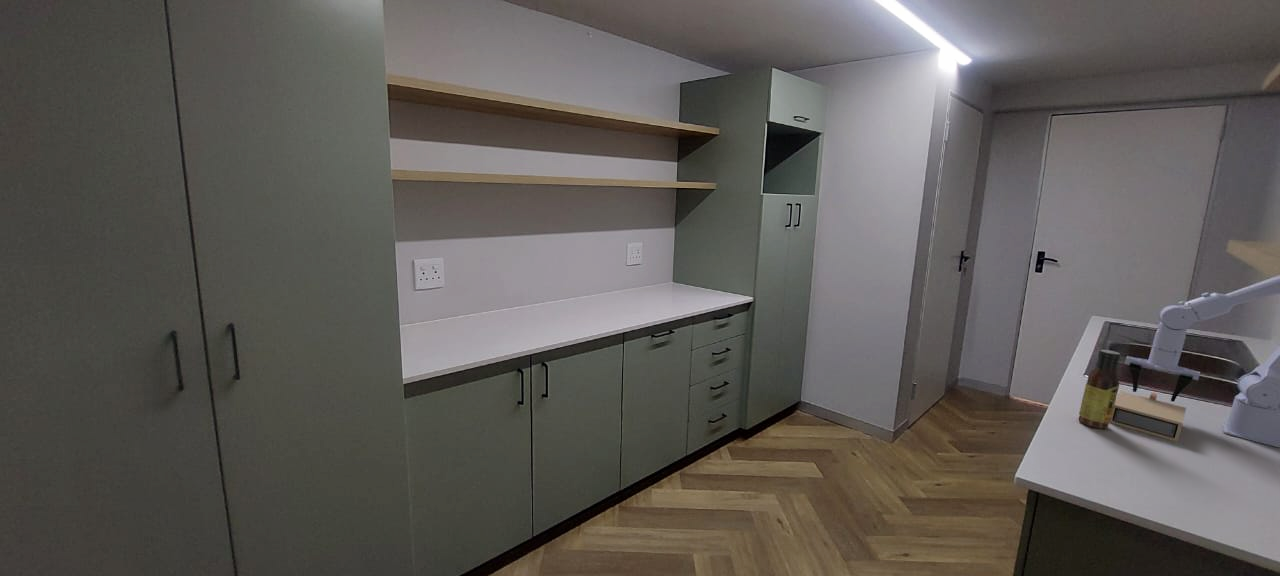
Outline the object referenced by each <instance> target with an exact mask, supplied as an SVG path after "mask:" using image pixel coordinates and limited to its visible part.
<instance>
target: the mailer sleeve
mask: <svg viewBox="0 0 1280 576" xmlns="http://www.w3.org/2000/svg"><path fill="white" fill-rule="evenodd" d="M1117 408H1119V409H1123V410H1127V411H1130V412H1134V413H1138V414H1141V415H1145V416H1149V417H1153V418H1156V419H1160V420H1164V421H1167V422H1171V423H1175V424H1176V428H1175V431H1174V435H1173V437H1172V436H1168V435H1165V434H1161V433H1158V432H1154V431H1150V430H1147V429H1143V428H1140V427H1136V426H1133V425H1129V424H1126V423H1122V422H1119V421H1115V420H1114V419H1115V414H1116V410H1117ZM1186 410H1187V407H1186V406H1181V405H1177V404H1173V403H1170V402H1169V403H1168V402H1165V401H1161V400H1157V399H1156V400H1154V399H1150V397H1145V396H1143V395H1142V396H1141V395H1137V394H1133V393H1131V392H1130V393H1129V392H1124V391H1120V392H1119V393H1118V394H1117V396H1116V400H1115V405H1114V408H1113V412H1112V416H1111V420H1110V423H1111V424H1113V425H1118V426H1121V427H1125V428H1128V429H1132V430H1135V431H1138V432H1142V433H1145V434H1148V435H1149V434H1150V435H1153V436H1156V437H1158V438H1159V437H1160V438H1163V439H1167V440H1169V441H1173V442H1176V443H1178V442H1179V441H1178V440H1179V438H1180V435H1181V430H1182V428H1183V424H1184V421H1185V420H1184V418H1185V415H1186ZM1110 423H1109V424H1110Z"/></svg>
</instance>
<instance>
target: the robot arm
mask: <svg viewBox="0 0 1280 576" xmlns="http://www.w3.org/2000/svg"><path fill="white" fill-rule="evenodd" d="M1278 294H1279V295H1280V274H1279V275H1277V276H1273V277H1270V278H1268V279H1265V280H1262V281H1258V282H1257V283H1254V284H1251V285H1248V286H1245V287H1243V288H1239V289H1238V290H1237V289H1236V290H1234V291H1231V292H1228V293H1225V294H1224V293H1219V292H1211V293H1209V292H1204V293H1201V297H1196V298H1194V299H1191V300H1188V301H1183V300H1182V301H1178V305H1175V304H1174V305H1173V304H1172V305H1167V306H1165V307H1164V308H1162V310H1161V311H1160V312H1159V313H1158V318H1159V324H1158V326H1157V330H1156V332H1155V334H1154V338H1153V342H1152V346H1151V349H1150V353H1149V356H1148V359H1146V358H1145V359H1144V358H1139V357H1133V356H1129V355H1127V356H1126V357H1125V358H1126V359H1125V361H1124V365H1128V369H1129V373H1130V375H1131V379H1132V392H1133V393H1137V390H1138V388H1139V381H1140V377H1141V374H1142V370H1143V368H1145V369H1148V370H1149V369H1150V370H1154V371H1158V372H1163V373H1167V374H1171V375H1175V376H1178V379H1177V382H1176V385H1175V388H1174V391H1173V393H1172V395H1171V398H1170V401H1171V402H1175V401H1176V399H1177V397H1178V396H1179V394H1180V393H1182V391H1183V390H1184V389H1185V388H1186V387H1187V386H1188V385H1190V384H1191V383H1192V381H1193V380H1196V381H1199V378H1200V375H1201V371H1197V370H1193V369H1190V368H1187V367H1181V366H1179V361H1180V358H1181V354H1182V351H1183V347H1184V344H1185V341H1186V337H1187V335H1186V334H1187V332H1188V328H1190V327H1191V326H1192V325H1193V324H1194V323H1199V322H1203V321H1207V320H1210V319H1212V318H1216V317H1219V316H1222V315H1225V314H1229V313H1231V310H1232V309H1233V307H1234V306H1237V305H1241V304H1246V303H1248V302H1253V301H1257V300H1260V299H1263V298H1267V297H1270V296H1273V295H1278ZM1236 386H1237V388H1238V390H1239V393H1238V394H1237V395H1235V396H1234V399H1233V402H1232V407H1231V409H1230V413H1229V415H1228V418H1227V422H1226V423H1222V433H1224V434H1226V435H1230V436H1234V437H1238V438H1241V439H1245V440H1248V441H1249V440H1250V441H1253V442H1256V443H1260V444H1264V445H1267V446H1272V447H1276V448H1280V408H1279V405H1280V346H1278V348H1277V349H1275V351H1274V352H1273V353H1272V354H1271V355H1270V357H1269V358H1268V359H1267V360H1265V362H1264V363H1263V364H1261V365H1259V366H1256V367H1255V368H1254V369H1253V370H1252V371H1251V372H1248V373H1247V374H1244V375H1242V376H1240V377H1239V379H1238V380H1237V385H1236Z"/></svg>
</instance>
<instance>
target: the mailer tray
mask: <svg viewBox="0 0 1280 576" xmlns="http://www.w3.org/2000/svg"><path fill="white" fill-rule="evenodd" d="M1157 396H1158V393H1156V392H1151V393H1150V396H1149V398H1150V399H1154V400H1157ZM1114 420H1115V421H1119V422H1122V423H1126V424H1129V425H1133V426H1136V427H1140V428H1143V429H1147V430H1150V431H1154V432H1158V433H1161V434H1165V435H1168V436H1172V437H1173V435H1174V431H1175V428H1176V424H1175V423H1171V422H1167V421H1164V420H1160V419H1156V418H1153V417H1149V416H1145V415H1141V414H1138V413H1134V412H1130V411H1127V410H1123V409H1119V408H1117V410H1116V414H1115V419H1114Z"/></svg>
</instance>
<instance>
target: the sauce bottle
mask: <svg viewBox="0 0 1280 576" xmlns="http://www.w3.org/2000/svg"><path fill="white" fill-rule="evenodd" d="M1120 359H1121V353H1120V352H1118V351H1114V350H1109V349H1100V350H1099V352H1098V361H1097V363H1096V367H1095V368H1094V369H1093V370H1091V371H1090V372H1089V374H1088V376H1087V381H1086V383H1085V387H1084V392H1083V396H1082V400H1081V405H1080V408H1079V413H1078V421H1079V422H1080V423H1081V424H1082V425H1085V426H1087V427H1090V428H1095V429H1108V428H1109V425H1110V420H1111V416H1112V412H1113V408H1114V405H1115V400H1116V398H1117V397H1118V391H1119V388H1120V387H1119V386H1120V381H1119V377H1118V373H1117V368H1118V363H1119V360H1120Z"/></svg>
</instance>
